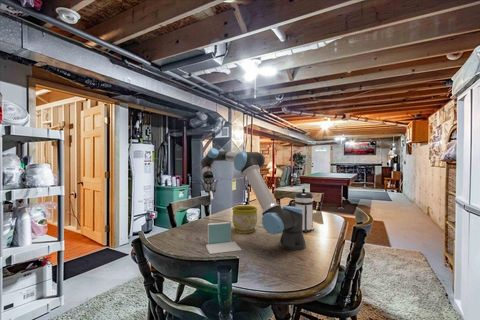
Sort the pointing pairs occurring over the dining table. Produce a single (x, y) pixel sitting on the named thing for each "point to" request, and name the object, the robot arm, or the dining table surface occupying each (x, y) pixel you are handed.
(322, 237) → the dining table surface
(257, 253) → the dining table surface
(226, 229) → the tile
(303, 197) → the coffee press
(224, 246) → the mat
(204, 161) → the robot arm
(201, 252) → the dining table surface
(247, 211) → the flowerpot
